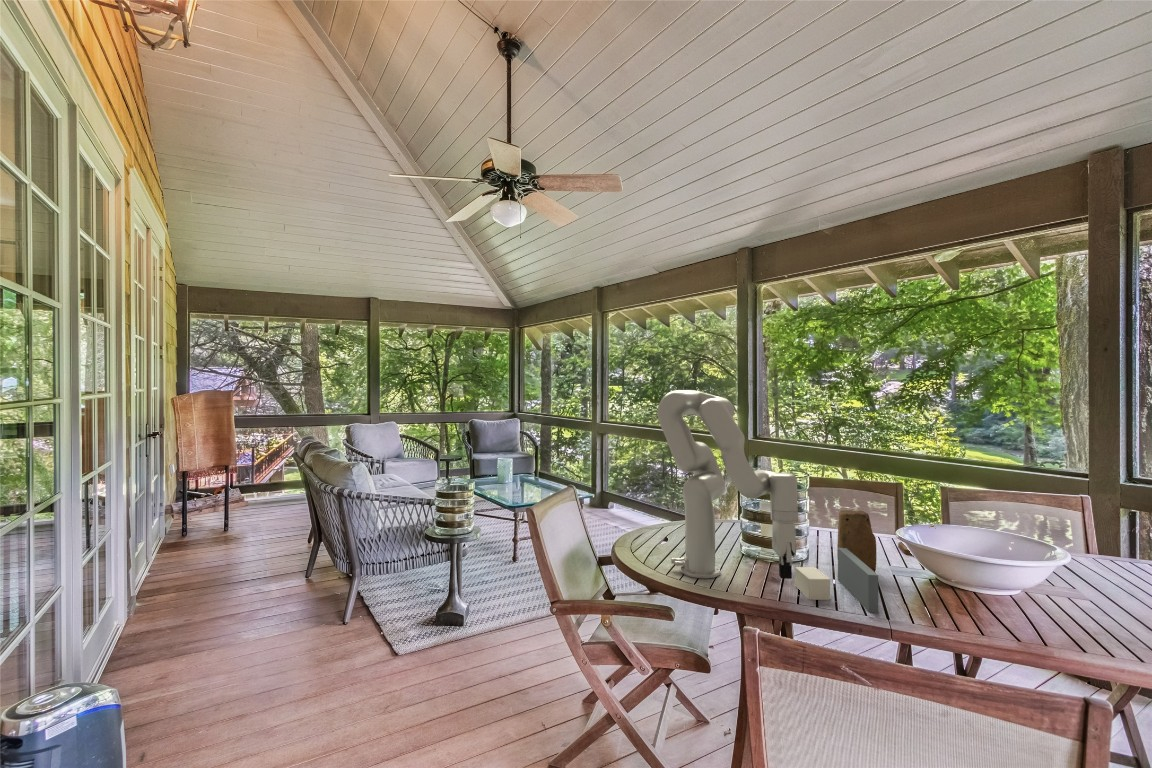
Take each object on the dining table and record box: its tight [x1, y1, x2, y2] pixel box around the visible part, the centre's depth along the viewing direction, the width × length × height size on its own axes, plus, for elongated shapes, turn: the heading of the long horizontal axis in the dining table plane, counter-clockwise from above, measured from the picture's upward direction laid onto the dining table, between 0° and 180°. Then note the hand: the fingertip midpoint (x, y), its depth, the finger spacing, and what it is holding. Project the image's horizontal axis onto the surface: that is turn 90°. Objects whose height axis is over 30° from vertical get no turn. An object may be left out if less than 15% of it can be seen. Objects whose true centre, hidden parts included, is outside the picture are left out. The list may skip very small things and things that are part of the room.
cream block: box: [794, 566, 831, 601], centre depth 157 cm, size 6×10×6 cm, turn 179°
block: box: [836, 509, 877, 573], centre depth 173 cm, size 11×8×20 cm
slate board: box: [837, 548, 879, 614], centre depth 155 cm, size 2×24×10 cm, turn 172°
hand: (785, 577), depth 158 cm, fingers closed
